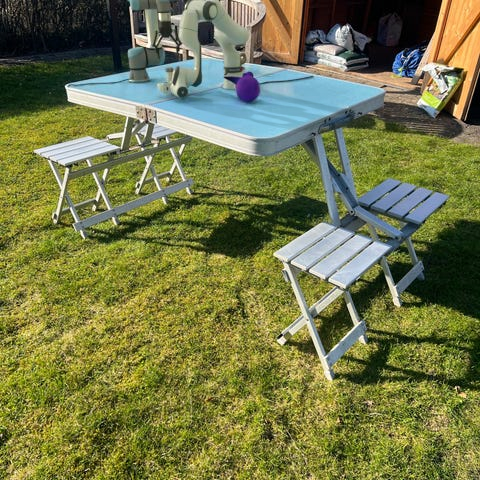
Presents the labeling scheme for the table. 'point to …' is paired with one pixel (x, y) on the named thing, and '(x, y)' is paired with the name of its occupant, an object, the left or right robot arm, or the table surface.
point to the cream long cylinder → (169, 77)
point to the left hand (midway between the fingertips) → (168, 57)
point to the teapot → (243, 59)
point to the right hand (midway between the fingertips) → (170, 83)
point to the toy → (246, 86)
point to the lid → (169, 69)
